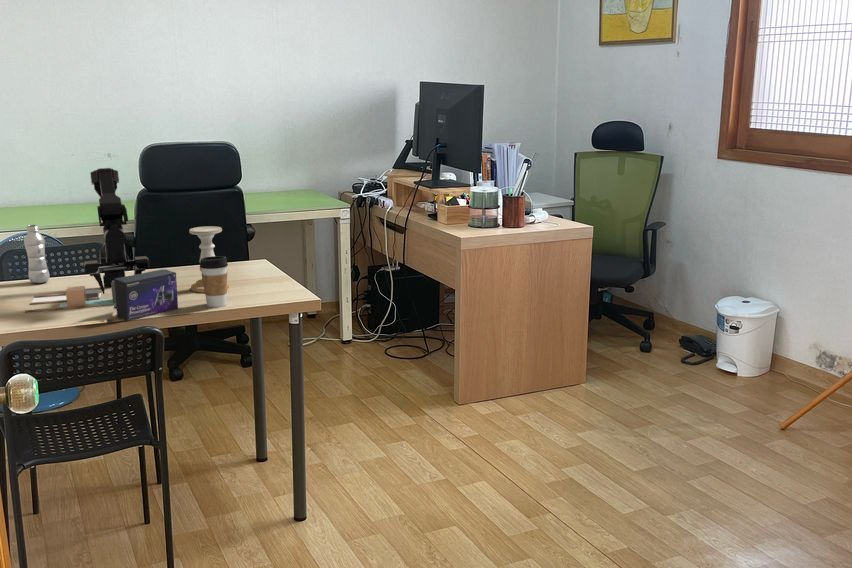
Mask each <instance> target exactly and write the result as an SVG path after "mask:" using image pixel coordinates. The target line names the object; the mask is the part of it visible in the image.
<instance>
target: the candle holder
mask: <svg viewBox="0 0 852 568" xmlns="http://www.w3.org/2000/svg"><path fill="white" fill-rule="evenodd" d="M222 231H223V228H222V227H221V226H214V225H213V226H212V225H211V226H210V225H209V226H206V225H205V226H197V227H193V228H192V227H191V228H189V234H190V235H196V236H197V237H198V238H199V239H200V242H201V243H200V244H199V246H198V248H199V249H200V250H201V251H200V256H199V261H200V260H201V259H202V258H205V257H212V256H216V255H215V252H214V248H215V247H216V245H215V244H214V243H213V238H214V237H215V235H216V234H219V233H222ZM199 271H200V272H201V273H202V270H201V268H200V267H199ZM229 288H230V284H229V282H228V281H227V290H228V289H229ZM190 289H191V291H192V292H194V293H200V294H201V293H202V294H205V291H204V285H203V280H202V278H200V279H198V280H196V282H194V283H192V284H191V286H190Z"/></svg>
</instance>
